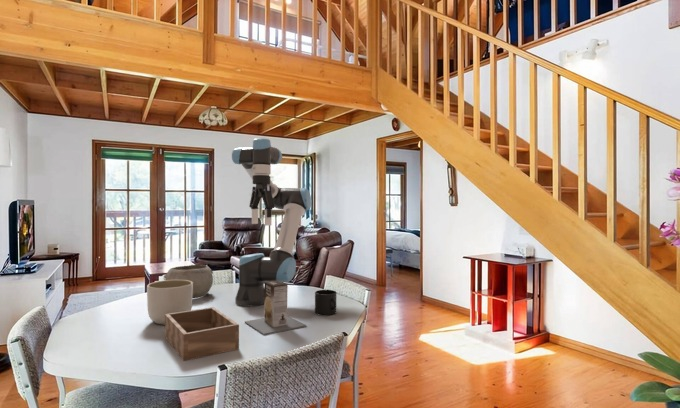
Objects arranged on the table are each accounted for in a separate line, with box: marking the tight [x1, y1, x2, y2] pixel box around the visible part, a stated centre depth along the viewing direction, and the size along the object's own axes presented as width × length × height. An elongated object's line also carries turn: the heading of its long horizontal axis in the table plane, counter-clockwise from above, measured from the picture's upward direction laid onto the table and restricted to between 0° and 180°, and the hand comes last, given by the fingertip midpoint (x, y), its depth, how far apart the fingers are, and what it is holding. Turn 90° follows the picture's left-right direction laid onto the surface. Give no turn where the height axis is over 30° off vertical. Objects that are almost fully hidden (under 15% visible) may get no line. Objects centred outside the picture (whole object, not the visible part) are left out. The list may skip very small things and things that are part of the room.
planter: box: [146, 279, 193, 326], centre depth 160 cm, size 17×17×15 cm
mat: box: [244, 315, 308, 336], centre depth 157 cm, size 18×18×1 cm
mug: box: [314, 289, 337, 316], centre depth 173 cm, size 9×12×9 cm
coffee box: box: [263, 280, 289, 327], centre depth 156 cm, size 9×6×16 cm
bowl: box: [164, 264, 214, 300], centre depth 203 cm, size 23×23×15 cm
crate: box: [164, 306, 240, 361], centre depth 136 cm, size 26×17×8 cm, turn 35°
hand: (261, 224), depth 170 cm, fingers open, 13 cm apart
